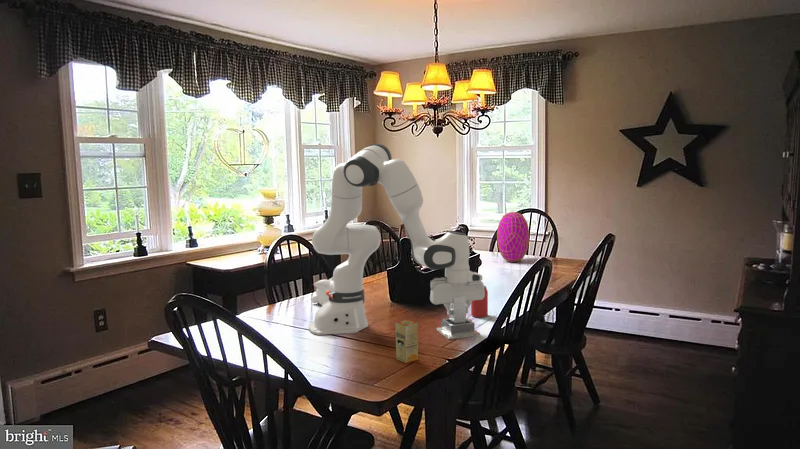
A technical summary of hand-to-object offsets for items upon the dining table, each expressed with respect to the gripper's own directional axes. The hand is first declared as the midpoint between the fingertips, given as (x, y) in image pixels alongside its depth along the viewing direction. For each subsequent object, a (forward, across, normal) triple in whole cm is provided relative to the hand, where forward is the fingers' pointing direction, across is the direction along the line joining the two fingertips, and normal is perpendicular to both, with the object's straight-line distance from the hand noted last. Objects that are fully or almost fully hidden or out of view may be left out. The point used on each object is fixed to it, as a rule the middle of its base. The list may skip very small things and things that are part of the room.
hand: (457, 313), depth 205 cm
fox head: (+8, -37, +57) cm, 68 cm away
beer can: (+7, +17, +17) cm, 25 cm away
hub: (+7, 0, 0) cm, 7 cm away
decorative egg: (+7, +88, +116) cm, 146 cm away
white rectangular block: (+5, 0, 0) cm, 5 cm away
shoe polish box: (+7, -26, -19) cm, 33 cm away
